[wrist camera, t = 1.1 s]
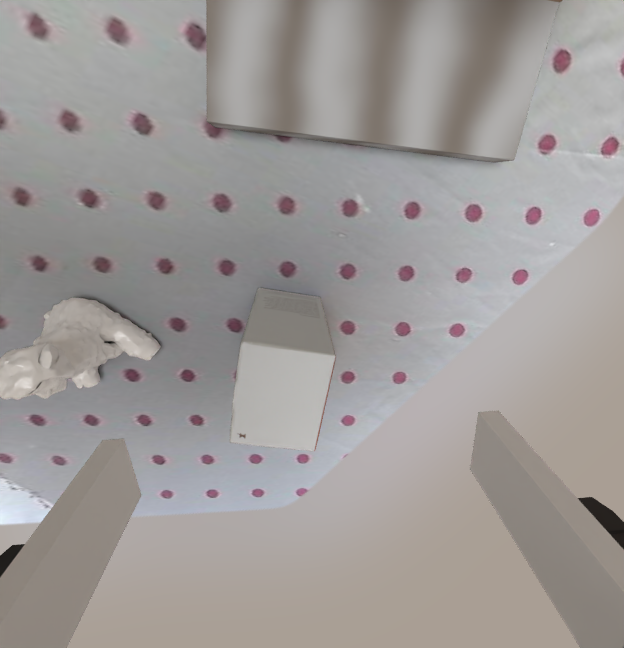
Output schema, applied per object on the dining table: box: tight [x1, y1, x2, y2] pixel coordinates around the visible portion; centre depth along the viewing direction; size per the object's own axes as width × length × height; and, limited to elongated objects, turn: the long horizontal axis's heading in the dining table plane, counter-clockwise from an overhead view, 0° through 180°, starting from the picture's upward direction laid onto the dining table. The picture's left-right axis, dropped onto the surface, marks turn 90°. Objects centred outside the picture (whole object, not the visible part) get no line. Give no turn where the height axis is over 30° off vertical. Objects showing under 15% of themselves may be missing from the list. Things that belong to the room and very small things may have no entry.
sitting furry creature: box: [0, 297, 161, 400], centre depth 29 cm, size 10×9×12 cm
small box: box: [230, 288, 336, 451], centre depth 30 cm, size 8×6×13 cm
